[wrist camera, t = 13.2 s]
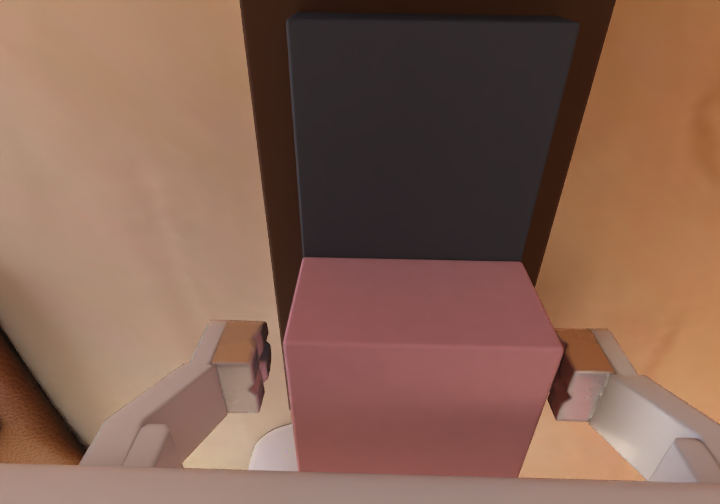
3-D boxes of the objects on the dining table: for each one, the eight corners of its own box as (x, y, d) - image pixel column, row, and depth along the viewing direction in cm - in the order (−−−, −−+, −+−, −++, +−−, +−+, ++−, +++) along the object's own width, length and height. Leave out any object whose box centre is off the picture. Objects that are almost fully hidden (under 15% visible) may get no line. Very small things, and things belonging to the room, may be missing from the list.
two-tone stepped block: (294, 11, 9) (246, 46, 6) (560, 14, 9) (677, 52, 6) (317, 377, 15) (300, 502, 12) (476, 381, 15) (507, 508, 12)
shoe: (263, -138, 12) (152, -232, 6) (566, -136, 12) (764, -230, 6) (305, 363, 24) (281, 511, 17) (466, 367, 23) (500, 517, 17)
